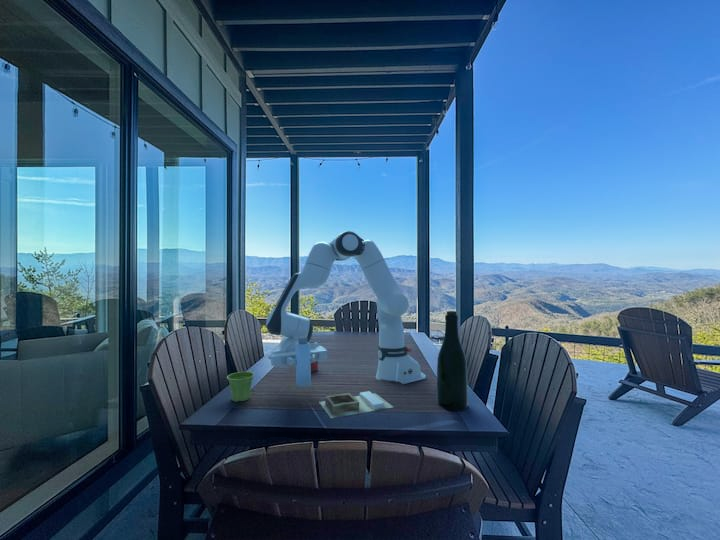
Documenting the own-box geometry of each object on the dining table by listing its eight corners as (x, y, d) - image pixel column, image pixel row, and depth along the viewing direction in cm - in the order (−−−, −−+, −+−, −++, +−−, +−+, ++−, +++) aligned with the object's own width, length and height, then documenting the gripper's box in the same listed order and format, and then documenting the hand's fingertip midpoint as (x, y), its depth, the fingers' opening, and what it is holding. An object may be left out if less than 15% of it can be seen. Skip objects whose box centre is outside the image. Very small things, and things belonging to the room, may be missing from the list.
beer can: (315, 372, 150) (315, 347, 151) (302, 371, 152) (302, 346, 152) (319, 368, 157) (319, 344, 157) (307, 367, 158) (307, 343, 159)
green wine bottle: (446, 397, 119) (446, 308, 120) (473, 405, 112) (472, 311, 112) (430, 405, 112) (430, 310, 113) (458, 414, 104) (457, 313, 105)
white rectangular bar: (369, 395, 118) (369, 391, 118) (384, 407, 107) (384, 402, 107) (359, 396, 117) (359, 392, 117) (373, 409, 105) (373, 404, 106)
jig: (375, 396, 120) (375, 386, 120) (393, 410, 107) (393, 399, 107) (318, 405, 112) (318, 394, 112) (331, 422, 99) (331, 410, 99)
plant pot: (237, 406, 111) (238, 380, 111) (221, 400, 116) (221, 376, 116) (259, 397, 119) (259, 374, 119) (242, 392, 124) (243, 370, 124)
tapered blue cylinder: (308, 381, 113) (308, 335, 113) (312, 385, 108) (311, 338, 109) (294, 383, 111) (294, 337, 111) (297, 387, 106) (297, 339, 107)
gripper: (267, 347, 118) (272, 355, 105) (320, 341, 126) (331, 348, 113) (267, 364, 118) (272, 374, 105) (321, 357, 126) (332, 366, 113)
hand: (303, 361), depth 109 cm, fingers closed on tapered blue cylinder, 5 cm apart
